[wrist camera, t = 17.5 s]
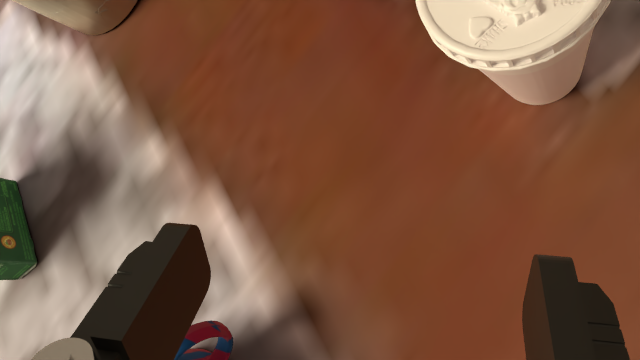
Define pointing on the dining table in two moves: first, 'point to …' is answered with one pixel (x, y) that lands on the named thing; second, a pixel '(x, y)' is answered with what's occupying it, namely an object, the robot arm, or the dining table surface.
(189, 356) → the mug
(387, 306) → the dining table surface
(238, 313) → the dining table surface
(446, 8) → the smoothie
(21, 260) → the coffee box
